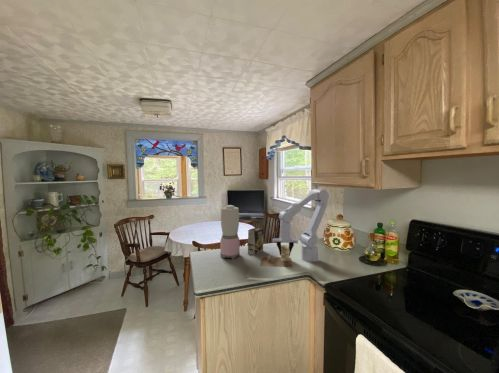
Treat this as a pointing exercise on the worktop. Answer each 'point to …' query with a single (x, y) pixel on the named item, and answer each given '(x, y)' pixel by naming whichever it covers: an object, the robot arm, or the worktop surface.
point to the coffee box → (255, 241)
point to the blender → (229, 232)
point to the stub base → (275, 262)
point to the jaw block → (285, 252)
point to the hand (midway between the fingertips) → (284, 254)
